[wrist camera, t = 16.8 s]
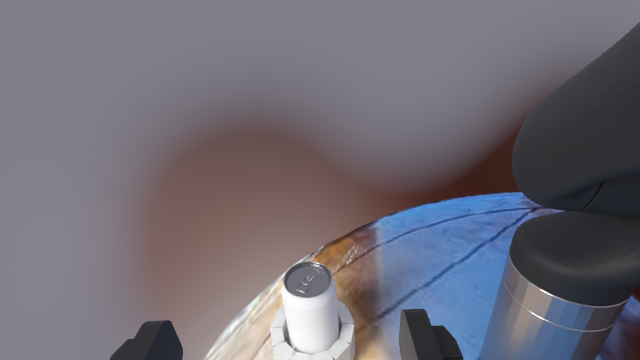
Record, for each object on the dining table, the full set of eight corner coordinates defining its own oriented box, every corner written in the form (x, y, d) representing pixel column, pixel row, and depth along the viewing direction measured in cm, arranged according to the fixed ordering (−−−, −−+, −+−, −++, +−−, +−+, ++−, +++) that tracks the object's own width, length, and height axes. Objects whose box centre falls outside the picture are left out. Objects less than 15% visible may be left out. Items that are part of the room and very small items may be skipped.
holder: (340, 305, 48) (339, 284, 46) (368, 374, 38) (368, 351, 36) (269, 324, 46) (265, 303, 44) (280, 403, 36) (275, 380, 34)
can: (347, 333, 42) (344, 268, 37) (325, 377, 37) (318, 309, 32) (307, 316, 45) (298, 253, 40) (281, 354, 40) (268, 288, 35)
